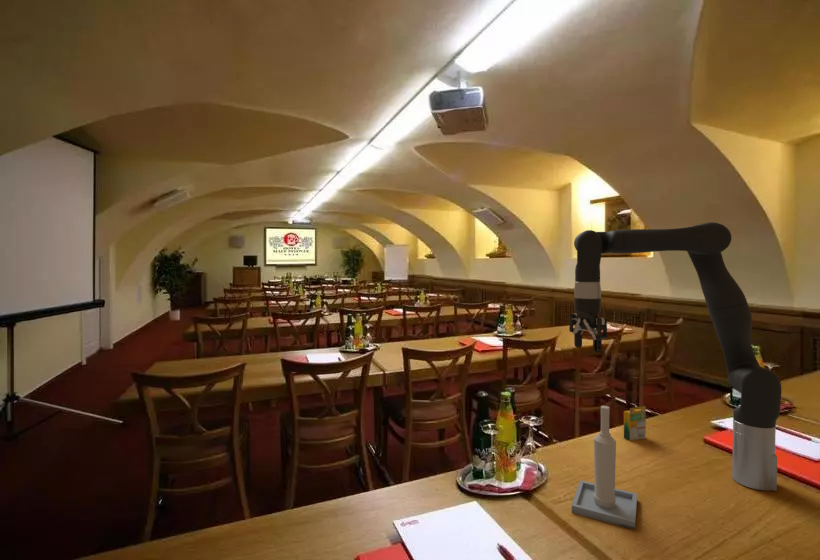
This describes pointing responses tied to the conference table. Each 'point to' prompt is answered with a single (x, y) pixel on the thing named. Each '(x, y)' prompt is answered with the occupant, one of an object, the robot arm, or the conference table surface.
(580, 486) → the tray
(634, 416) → the crayon box
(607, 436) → the bottle
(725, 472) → the conference table surface
